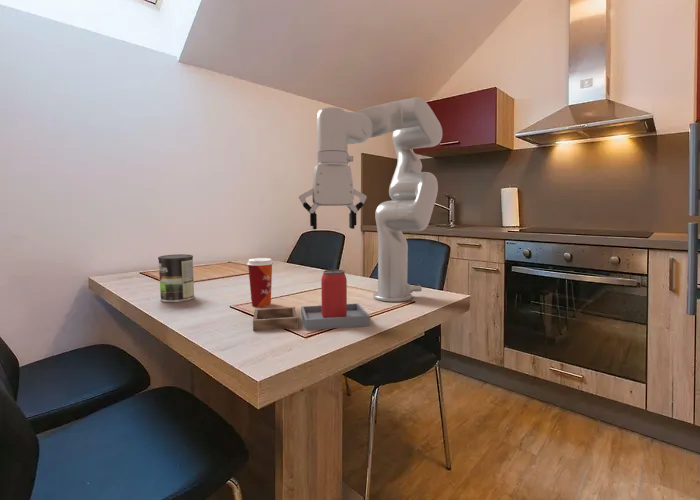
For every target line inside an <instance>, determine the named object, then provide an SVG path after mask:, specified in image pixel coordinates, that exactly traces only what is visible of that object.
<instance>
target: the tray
mask: <svg viewBox="0 0 700 500" xmlns="http://www.w3.org/2000/svg"><path fill="white" fill-rule="evenodd" d="M300 311H301V312H300V313H301V314H300V315H301V320H302V323H303V326H304V329H305V331H312V330H313V331H314V330H315V331H316V330H325V329H343V328H357V327H370V324H371V321H370V320H371V318H370V317H371V316H370V314H368V312H367V311H366V310H365V309H364V308H363V307H362V306H361V305H360V303H347V315H346V316H345V317H334V318H324V317H323V316H322V304H321V305H306V306H304V305H303V306H301V307H300Z"/></svg>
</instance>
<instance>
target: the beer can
mask: <svg viewBox="0 0 700 500" xmlns="http://www.w3.org/2000/svg"><path fill="white" fill-rule="evenodd" d="M322 272H323V273H322V276H321V279H320V280H321V281H320V282H321V285H320V286H321V289H320V291H321V305H322V316H323V317H324V318H334V317H345V316H346V315H347V304H348V303H347V302H348V301H347V300H348V297H347V296H348V295H347V292H348V291H347V286H348V285H347V283H348V280H347V276H346V273H345V270H343V269H325V270H324V271H322Z"/></svg>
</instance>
